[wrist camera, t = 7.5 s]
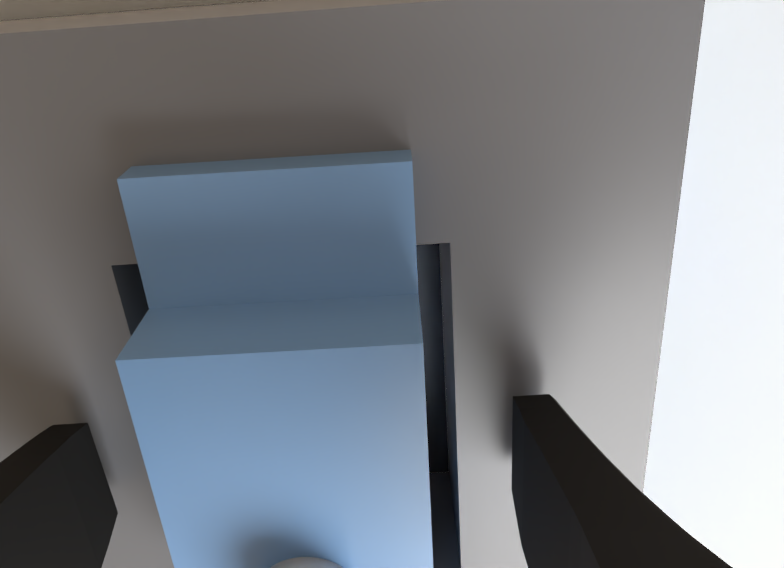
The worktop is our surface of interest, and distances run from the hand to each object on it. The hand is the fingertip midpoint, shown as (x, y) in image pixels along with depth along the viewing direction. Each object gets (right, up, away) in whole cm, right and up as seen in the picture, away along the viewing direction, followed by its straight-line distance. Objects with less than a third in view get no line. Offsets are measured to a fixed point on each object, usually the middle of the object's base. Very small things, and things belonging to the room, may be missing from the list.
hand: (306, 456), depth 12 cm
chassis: (0, +1, +3) cm, 3 cm away
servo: (0, +2, +3) cm, 3 cm away
